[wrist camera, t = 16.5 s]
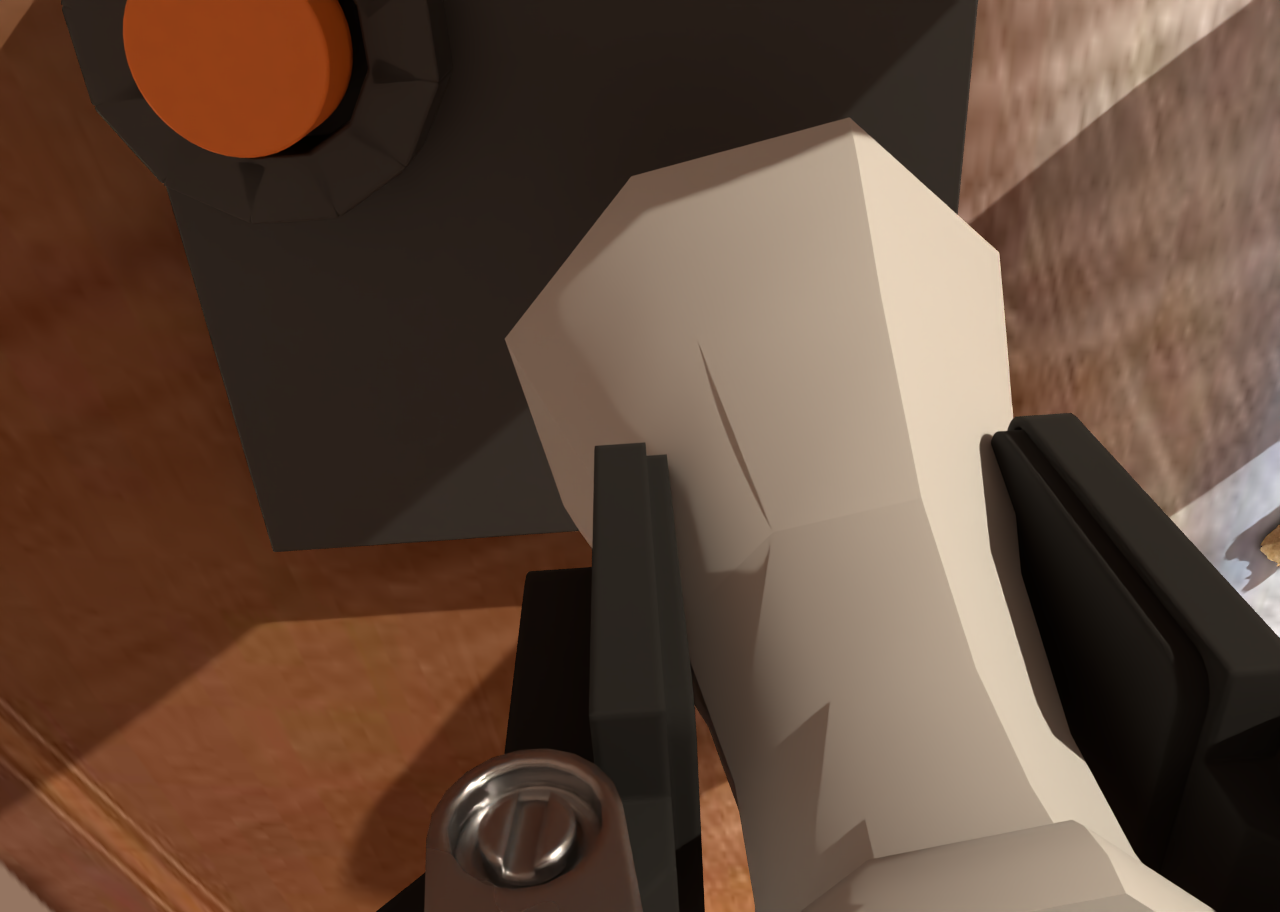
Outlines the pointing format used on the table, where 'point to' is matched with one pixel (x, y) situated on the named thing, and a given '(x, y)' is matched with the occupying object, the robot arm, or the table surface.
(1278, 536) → the fossil
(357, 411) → the scale
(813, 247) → the flask
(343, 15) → the button
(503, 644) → the table surface
